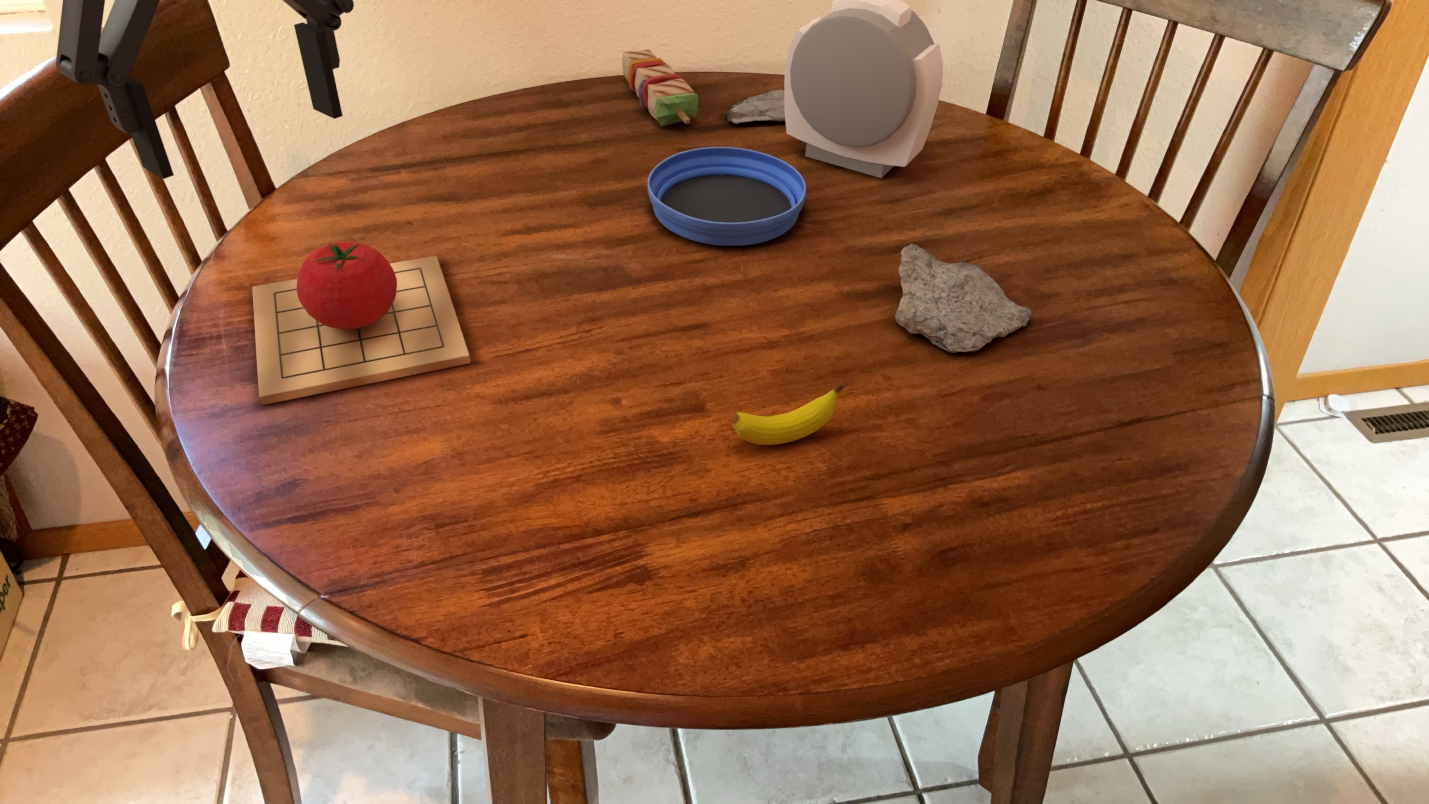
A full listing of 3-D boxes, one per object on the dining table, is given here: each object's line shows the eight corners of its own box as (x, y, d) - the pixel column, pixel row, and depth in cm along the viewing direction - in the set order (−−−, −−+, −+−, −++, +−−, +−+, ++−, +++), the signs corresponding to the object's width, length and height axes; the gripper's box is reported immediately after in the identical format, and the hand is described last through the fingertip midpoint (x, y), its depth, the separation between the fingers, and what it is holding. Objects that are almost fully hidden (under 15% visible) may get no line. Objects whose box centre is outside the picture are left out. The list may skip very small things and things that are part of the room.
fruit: (832, 418, 85) (838, 374, 82) (842, 434, 84) (850, 389, 81) (723, 443, 83) (725, 398, 79) (732, 460, 81) (735, 414, 78)
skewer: (615, 81, 140) (614, 47, 137) (657, 76, 142) (657, 42, 139) (663, 143, 126) (663, 105, 122) (710, 136, 127) (711, 99, 124)
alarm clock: (929, 165, 123) (961, 0, 110) (904, 191, 118) (934, 22, 104) (802, 129, 130) (818, -30, 117) (773, 153, 124) (785, -11, 111)
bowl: (619, 226, 109) (618, 197, 107) (690, 161, 122) (690, 134, 120) (767, 267, 104) (770, 238, 101) (825, 194, 116) (828, 167, 114)
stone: (731, 128, 129) (731, 122, 129) (715, 98, 136) (715, 93, 136) (880, 118, 133) (881, 112, 133) (857, 89, 140) (858, 84, 140)
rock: (941, 332, 89) (866, 240, 99) (926, 367, 92) (854, 274, 101) (1056, 323, 94) (974, 236, 104) (1038, 356, 97) (960, 268, 107)
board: (261, 405, 84) (258, 396, 84) (254, 294, 97) (251, 285, 96) (470, 363, 90) (469, 354, 89) (438, 263, 102) (436, 254, 102)
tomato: (375, 352, 89) (357, 278, 83) (287, 337, 90) (264, 263, 85) (419, 299, 95) (405, 228, 90) (337, 285, 97) (318, 214, 91)
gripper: (-50, -159, 49) (103, 219, 62) (368, -206, 64) (417, 104, 78) (-111, -181, 52) (47, 182, 66) (300, -221, 68) (359, 79, 81)
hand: (248, 140), depth 72 cm, fingers open, 13 cm apart
